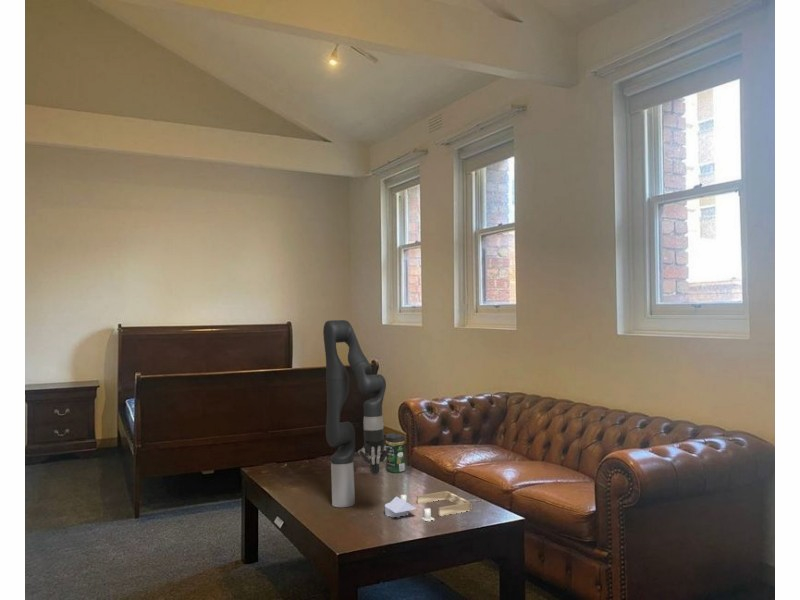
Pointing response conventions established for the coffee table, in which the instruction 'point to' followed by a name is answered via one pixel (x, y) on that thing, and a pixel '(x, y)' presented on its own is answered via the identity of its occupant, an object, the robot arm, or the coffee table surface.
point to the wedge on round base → (397, 508)
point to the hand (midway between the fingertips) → (374, 473)
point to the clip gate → (426, 510)
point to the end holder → (453, 509)
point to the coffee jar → (395, 453)
